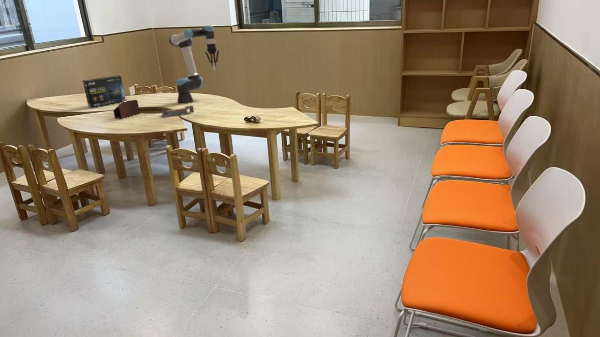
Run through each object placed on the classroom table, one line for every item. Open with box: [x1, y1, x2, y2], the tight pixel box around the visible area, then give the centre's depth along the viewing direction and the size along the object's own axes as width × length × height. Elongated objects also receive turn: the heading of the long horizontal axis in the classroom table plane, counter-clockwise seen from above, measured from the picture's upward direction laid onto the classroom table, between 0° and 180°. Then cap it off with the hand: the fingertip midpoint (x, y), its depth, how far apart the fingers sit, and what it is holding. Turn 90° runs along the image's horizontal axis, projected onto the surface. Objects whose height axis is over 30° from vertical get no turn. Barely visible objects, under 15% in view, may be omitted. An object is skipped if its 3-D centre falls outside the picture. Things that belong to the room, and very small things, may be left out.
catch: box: [184, 105, 195, 113], centre depth 377 cm, size 6×6×5 cm
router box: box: [82, 74, 127, 108], centre depth 424 cm, size 36×11×27 cm, turn 134°
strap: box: [167, 107, 189, 113], centre depth 374 cm, size 4×21×1 cm, turn 110°
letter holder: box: [112, 99, 141, 120], centre depth 376 cm, size 10×20×14 cm, turn 148°
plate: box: [161, 109, 188, 118], centre depth 374 cm, size 10×22×3 cm, turn 110°
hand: (214, 69), depth 390 cm, fingers closed
